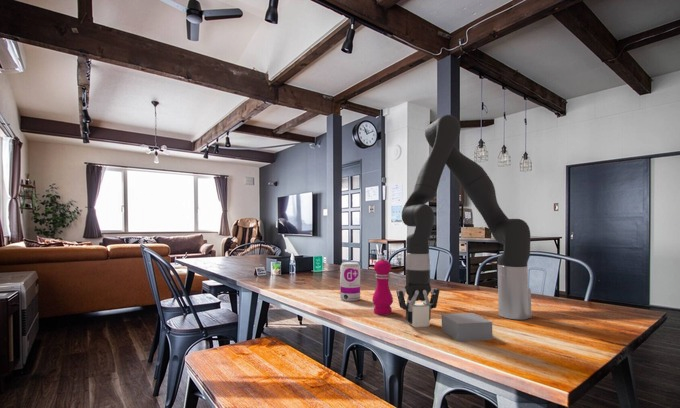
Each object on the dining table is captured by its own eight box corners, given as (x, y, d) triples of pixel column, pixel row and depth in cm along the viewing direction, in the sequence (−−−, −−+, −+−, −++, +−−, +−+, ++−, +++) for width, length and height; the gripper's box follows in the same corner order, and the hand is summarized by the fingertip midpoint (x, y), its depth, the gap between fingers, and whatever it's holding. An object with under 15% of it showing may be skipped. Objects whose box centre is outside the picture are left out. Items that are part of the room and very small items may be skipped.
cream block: (422, 321, 111) (421, 302, 111) (429, 326, 106) (429, 306, 106) (407, 322, 110) (407, 303, 110) (414, 327, 105) (414, 307, 105)
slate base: (473, 329, 104) (472, 312, 104) (492, 340, 94) (492, 322, 94) (441, 331, 102) (441, 313, 103) (458, 342, 92) (457, 323, 93)
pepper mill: (392, 315, 118) (392, 256, 119) (371, 314, 119) (371, 256, 120) (393, 310, 125) (393, 254, 126) (373, 309, 126) (373, 254, 128)
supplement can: (360, 301, 139) (360, 264, 140) (340, 301, 139) (340, 264, 140) (359, 297, 147) (359, 261, 148) (340, 297, 147) (340, 261, 148)
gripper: (432, 265, 114) (433, 318, 113) (392, 266, 111) (392, 320, 110) (444, 268, 107) (445, 324, 106) (401, 269, 104) (401, 327, 103)
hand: (418, 322), depth 108 cm, fingers closed on cream block, 5 cm apart
